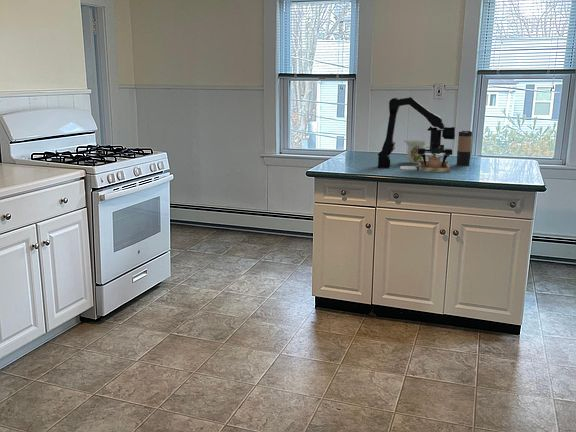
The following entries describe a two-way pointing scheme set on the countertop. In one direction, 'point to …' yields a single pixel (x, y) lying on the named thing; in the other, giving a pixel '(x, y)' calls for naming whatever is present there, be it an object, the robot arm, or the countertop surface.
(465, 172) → the countertop surface
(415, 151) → the pitcher
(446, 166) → the wooden tray
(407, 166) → the tile
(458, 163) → the travel mug
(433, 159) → the pot
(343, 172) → the countertop surface
